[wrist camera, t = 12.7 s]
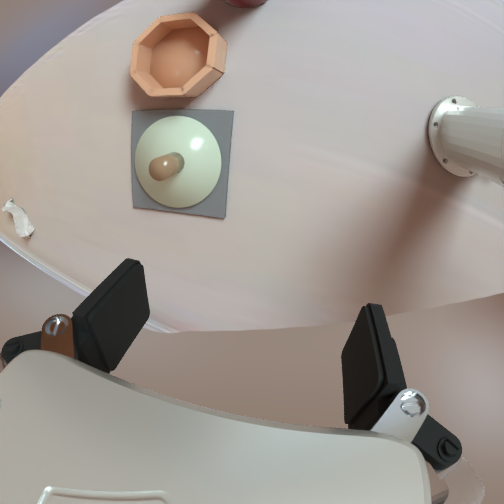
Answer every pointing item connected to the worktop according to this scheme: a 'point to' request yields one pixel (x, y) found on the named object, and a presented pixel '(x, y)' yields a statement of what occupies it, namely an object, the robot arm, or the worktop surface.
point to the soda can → (245, 3)
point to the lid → (178, 161)
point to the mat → (222, 130)
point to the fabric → (19, 219)
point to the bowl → (178, 56)
